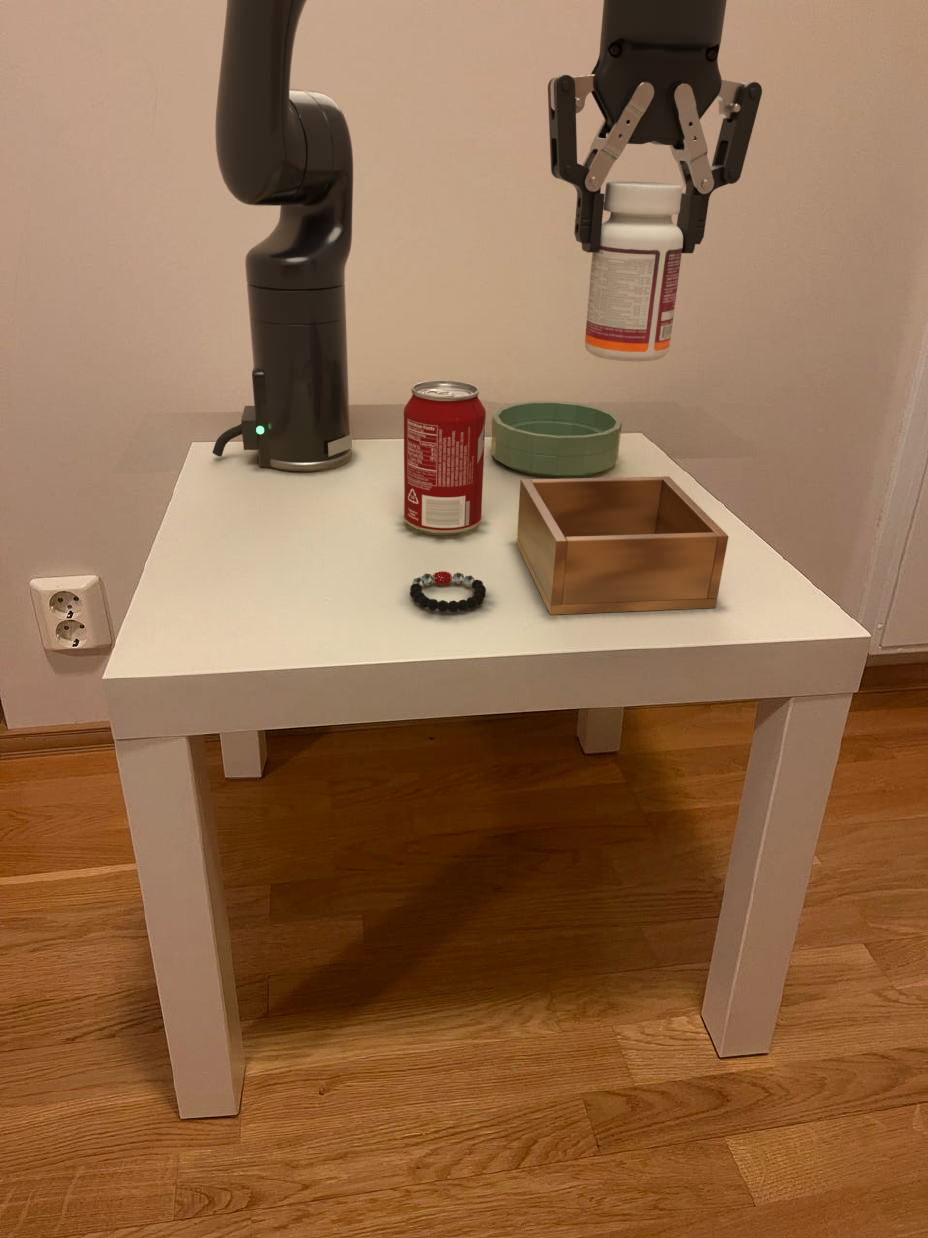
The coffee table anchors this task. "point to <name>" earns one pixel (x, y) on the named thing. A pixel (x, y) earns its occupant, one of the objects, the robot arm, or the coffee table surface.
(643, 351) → the pill bottle
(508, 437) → the bowl
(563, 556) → the holder
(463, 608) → the bracelet
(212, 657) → the coffee table surface
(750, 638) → the coffee table surface
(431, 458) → the soda can
